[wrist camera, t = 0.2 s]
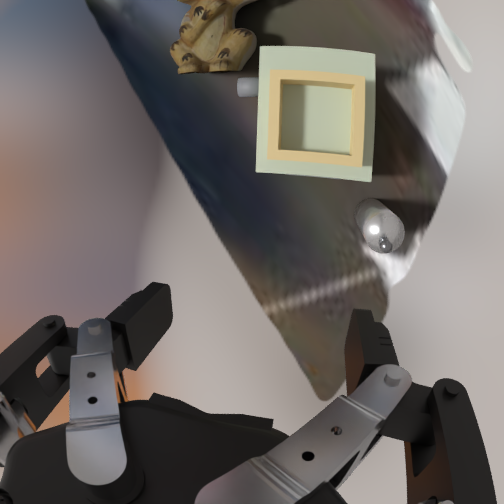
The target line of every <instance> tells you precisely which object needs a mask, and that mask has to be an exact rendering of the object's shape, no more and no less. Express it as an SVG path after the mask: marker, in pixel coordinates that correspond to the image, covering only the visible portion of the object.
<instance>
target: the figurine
mask: <svg viewBox="0 0 504 504" xmlns="http://www.w3.org/2000/svg"><path fill="white" fill-rule="evenodd" d="M177 1H180V2H182V3H185V4H189V5H191V6H192V7H191V9H190V10H189V11H188V12H187V13H186V14H185V16H184V18H183V20H182V23H181V27H180V29H179V34H180V37H181V38H180V39H179V40H177V41H176V42H174V43H173V44H172V46H171V48H170V52H171V55H172V57H173V58H174V60H175V62H176V64H177V65H178V66H179V68H178V74H186V73H188V74H189V73H194V72H196V73H208V72H229V71H231V70H233V71H240V70H242V69H243V66H244V65H245V63H246V62H247V61H248V60H249V59H250V57H251V56H252V54H253V53H254V51H255V49H256V45H257V39H256V35H255V34H254V33H253V32H252V31H250V30H248V29H245V28H239V29H235V18H236V14H237V12H238V11H239V9H240V8H241V7H243V6H245V5H247V4H249V3H252V2H254V1H257V0H177Z"/></svg>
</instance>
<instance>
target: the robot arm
mask: <svg viewBox="0 0 504 504" xmlns="http://www.w3.org/2000/svg"><path fill="white" fill-rule="evenodd" d="M172 319H173V312H172V301H171V290H170V286H169V285H168V284H163V283H157V282H152V283H150V284H149V285H148V286H147V287H146V288H145V289H144V290H143V291H139V292H137V293H134V294H132V295H131V296H130V297H129V298H128V299H126V301H124V302H123V303H122V304H121V305H120V306H118V307H117V308H116V309H115V310H114V311H113V312H112V313H110V314H109V315H108V316H107V317H106V318H105V319H103V318H93V319H89V320H87V321H85V322H83V323H82V324H81V325H80V326H79V328H72V327H71V328H70V327H66V325H65V321H64V319H63V317H61V316H57V315H51V316H47V317H44V318H42V319H41V320H39V321H38V322H37V323H36V324H35V325H33V326H32V327H31V328H30V329H28V330H27V331H26V332H25V333H24V334H23V335H22V336H20V337H19V338H18V339H17V340H16V341H14V342H13V343H12V344H11V345H10V346H9V347H8V348H7V349H5V350H4V351H3V352H2V353H1V354H0V467H4V472H3V476H2V479H1V482H0V504H347V503H346V502H345V500H344V499H343V498H342V497H341V495H340V494H339V493H338V492H337V491H336V490H337V489H338V488H339V487H340V486H341V485H342V484H343V483H344V482H345V481H346V480H347V479H348V477H349V476H350V475H351V473H352V472H353V471H354V470H355V469H356V468H357V466H358V465H359V464H360V463H361V462H362V461H363V460H364V458H365V457H366V456H367V455H368V454H369V453H370V452H371V450H372V449H373V448H374V447H375V446H376V445H377V443H378V442H379V441H380V439H381V438H382V437H383V436H387V437H391V438H395V439H399V440H403V441H404V446H405V459H406V475H407V504H497V501H496V495H495V490H494V485H493V480H492V475H491V471H490V466H489V463H488V458H487V454H486V450H485V446H484V443H483V439H482V436H481V432H480V429H479V426H478V423H477V419H476V417H475V413H474V410H473V407H472V405H471V402H470V399H469V396H468V393H467V391H466V389H465V387H464V386H463V385H462V384H461V383H459V382H458V381H455V380H453V379H449V378H443V379H440V380H438V381H437V382H435V384H434V386H433V388H431V387H427V386H423V385H419V384H416V383H414V382H412V378H411V375H410V374H409V372H408V371H407V370H405V369H404V368H402V367H400V366H399V363H398V360H397V356H396V353H395V349H394V346H393V343H392V340H391V337H390V333H389V331H388V329H387V328H386V327H385V326H384V325H383V324H382V323H380V322H374V318H373V315H372V311H371V310H364V309H353V311H352V315H351V319H350V324H349V328H348V332H347V336H346V341H345V347H344V357H345V370H346V386H347V397H346V396H344V395H341V396H339V397H337V398H336V399H335V400H334V401H333V402H332V403H331V404H329V405H328V406H327V407H326V408H325V409H324V410H322V411H321V412H320V413H319V414H318V415H316V416H315V417H314V418H313V419H311V420H310V421H309V422H308V423H306V424H305V425H304V426H303V427H301V428H300V429H299V430H298V431H296V432H295V433H294V434H292V435H291V436H288V435H287V434H285V433H283V432H281V431H279V430H276V429H274V428H272V426H273V419H269V418H262V417H256V416H250V415H244V414H209V413H205V412H203V411H201V410H199V409H197V408H195V407H193V406H191V405H189V404H187V403H185V402H183V401H181V400H178V399H174V398H171V397H167V396H164V395H160V394H157V393H153V394H152V396H151V397H150V399H149V400H133V401H129V400H128V394H127V389H126V384H125V378H124V374H123V370H124V369H125V368H128V369H131V370H134V371H136V370H137V369H138V367H139V366H140V365H141V364H142V362H143V361H144V360H145V358H146V357H147V356H148V354H149V353H150V352H151V350H152V349H153V348H154V347H155V345H156V344H157V343H158V341H159V340H160V339H161V338H162V336H163V335H164V334H165V333H166V331H167V330H168V329H169V327H170V326H171V323H172ZM46 355H47V358H48V360H49V363H50V366H49V367H48V368H47V369H46V370H45V371H44V372H43V373H42V374H41V376H40V377H39V378H37V376H36V367H37V365H38V363H39V362H40V361H41V360H42V359H43V358H44V357H45V356H46ZM69 389H70V393H69V394H70V395H69V397H70V398H69V399H70V400H69V411H70V412H69V413H70V414H69V415H70V421H69V422H67V423H64V424H61V425H58V426H55V427H52V428H49V429H45V430H42V431H39V432H36V431H37V429H38V428H39V427H40V426H41V424H42V423H43V422H44V420H45V419H46V418H47V417H48V415H49V414H50V413H51V412H52V410H53V409H54V408H55V406H56V405H57V404H58V403H59V402H60V400H61V399H62V398H63V396H64V395H65V394H66V393H67V392H68V390H69Z"/></svg>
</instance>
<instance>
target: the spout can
mask: <svg viewBox="0 0 504 504" xmlns="http://www.w3.org/2000/svg"><path fill="white" fill-rule="evenodd" d="M354 216H355V220H356V223H357V225H358V226H359V228H360V230H361V232H362V234H363V236H364V238H365V240H366V242H367V244H368V245H369V247H370V248H371V249H372V250H374V251H376V252H378V253H390V252H392V251H394V250H396V249H397V248H398V247H399V246H400V245H401V243H402V241H403V239H404V233H405V230H404V226H403V223H402V221H401V220H400V219H399V218H398V217H397V216H396V215H395V214H394V213H393V212H392V211H390V210H389V209H388V208H387V207H386V206H385V205H384V204H382V203H381V202H380V201H379V200H377V199H373V198H367V199H364V200H362V201H361V202H360V203H359V204H358V205H357V207H356V209H355V214H354Z"/></svg>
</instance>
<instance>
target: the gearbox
mask: <svg viewBox="0 0 504 504" xmlns="http://www.w3.org/2000/svg"><path fill="white" fill-rule="evenodd" d="M237 91H238V95H239V97H258V123H257V153H256V172H264V173H281V174H286V175H299V176H311V177H323V178H333V179H349V180H357V181H366V182H371V177H372V164H373V150H374V131H375V54H371V53H365V52H358V51H350V50H341V49H330V48H318V47H299V46H260V60H259V77H251V78H239V79H238V82H237Z"/></svg>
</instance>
